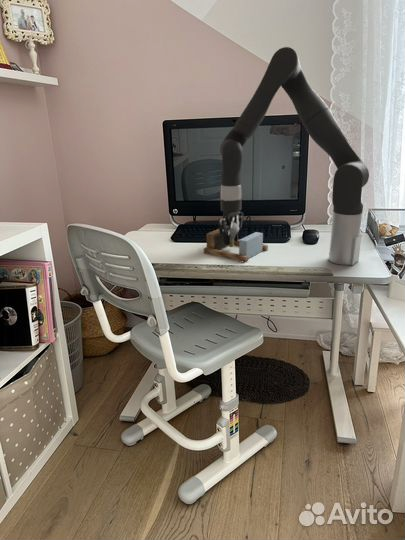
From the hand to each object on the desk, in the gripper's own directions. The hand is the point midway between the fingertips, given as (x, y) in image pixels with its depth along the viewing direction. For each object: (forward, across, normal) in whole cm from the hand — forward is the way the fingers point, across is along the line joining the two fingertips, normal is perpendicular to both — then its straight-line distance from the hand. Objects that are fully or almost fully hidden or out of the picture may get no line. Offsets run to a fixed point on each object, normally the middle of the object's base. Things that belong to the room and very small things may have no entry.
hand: (231, 242), depth 159 cm
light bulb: (+2, 0, 0) cm, 2 cm away
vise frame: (+3, 0, +2) cm, 4 cm away
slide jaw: (+3, 0, +9) cm, 9 cm away
